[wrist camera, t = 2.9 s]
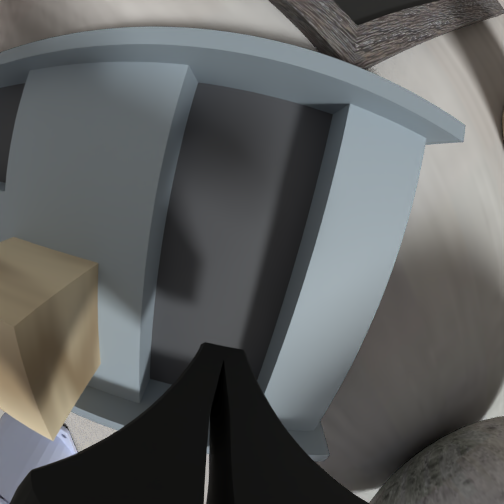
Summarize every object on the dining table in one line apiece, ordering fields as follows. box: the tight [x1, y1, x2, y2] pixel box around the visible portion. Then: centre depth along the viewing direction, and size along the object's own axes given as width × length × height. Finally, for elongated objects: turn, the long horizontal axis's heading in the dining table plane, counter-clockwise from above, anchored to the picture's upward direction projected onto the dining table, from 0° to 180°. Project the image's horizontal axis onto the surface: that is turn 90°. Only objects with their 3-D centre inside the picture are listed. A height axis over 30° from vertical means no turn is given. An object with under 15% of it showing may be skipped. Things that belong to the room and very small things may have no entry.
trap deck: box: [0, 27, 465, 461], centre depth 8 cm, size 14×31×4 cm, turn 77°
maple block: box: [0, 237, 101, 441], centre depth 7 cm, size 4×4×4 cm
